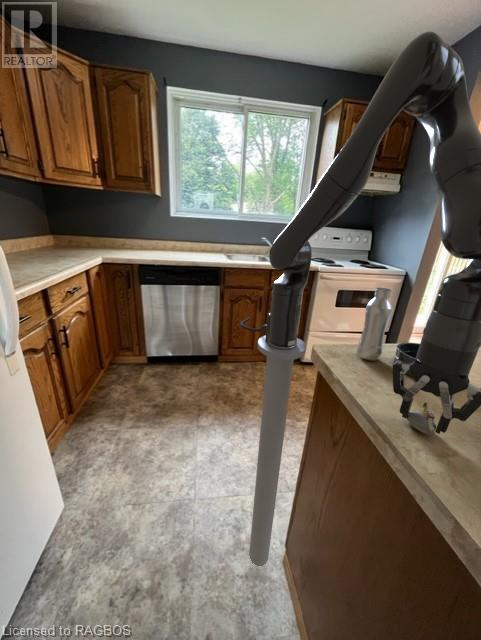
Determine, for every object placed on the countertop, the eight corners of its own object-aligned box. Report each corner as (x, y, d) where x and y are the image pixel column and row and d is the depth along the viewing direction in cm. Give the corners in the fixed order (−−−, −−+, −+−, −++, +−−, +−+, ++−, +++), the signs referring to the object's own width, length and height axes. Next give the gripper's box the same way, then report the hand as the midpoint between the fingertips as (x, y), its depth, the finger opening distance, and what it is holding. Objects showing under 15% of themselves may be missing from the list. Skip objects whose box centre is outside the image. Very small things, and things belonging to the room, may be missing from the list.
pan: (386, 368, 72) (390, 351, 70) (400, 354, 80) (404, 338, 79) (442, 388, 64) (448, 370, 62) (451, 370, 72) (457, 353, 71)
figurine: (399, 420, 53) (407, 394, 51) (419, 418, 53) (428, 393, 51) (420, 441, 48) (430, 413, 46) (442, 438, 48) (452, 411, 46)
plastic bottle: (368, 351, 81) (384, 286, 74) (385, 362, 75) (404, 292, 68) (350, 353, 79) (364, 286, 72) (365, 364, 73) (382, 292, 66)
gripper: (509, 348, 42) (471, 434, 48) (407, 322, 51) (386, 397, 57) (508, 363, 37) (466, 457, 43) (395, 331, 46) (373, 413, 52)
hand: (420, 422), depth 50 cm, fingers closed on figurine, 4 cm apart
